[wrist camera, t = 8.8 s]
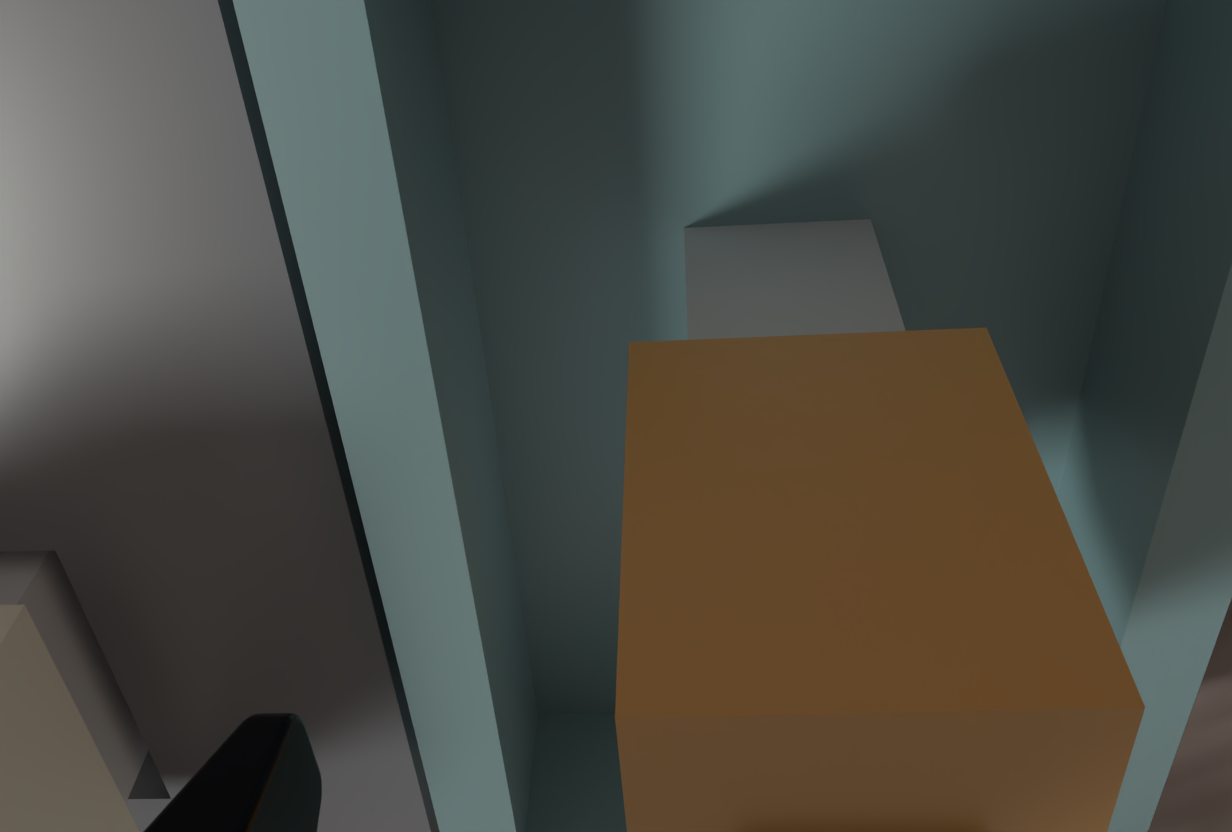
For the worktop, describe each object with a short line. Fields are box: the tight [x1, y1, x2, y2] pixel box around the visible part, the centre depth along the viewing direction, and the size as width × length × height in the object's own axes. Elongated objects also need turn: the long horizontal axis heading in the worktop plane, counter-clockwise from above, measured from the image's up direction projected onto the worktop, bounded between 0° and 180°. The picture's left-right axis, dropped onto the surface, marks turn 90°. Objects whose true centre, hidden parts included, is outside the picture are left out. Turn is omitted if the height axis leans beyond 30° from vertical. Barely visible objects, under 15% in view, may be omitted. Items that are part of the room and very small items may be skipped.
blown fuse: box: [615, 219, 1145, 832], centre depth 11 cm, size 5×3×7 cm, turn 4°
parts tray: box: [233, 0, 1232, 832], centre depth 13 cm, size 14×9×3 cm, turn 3°
